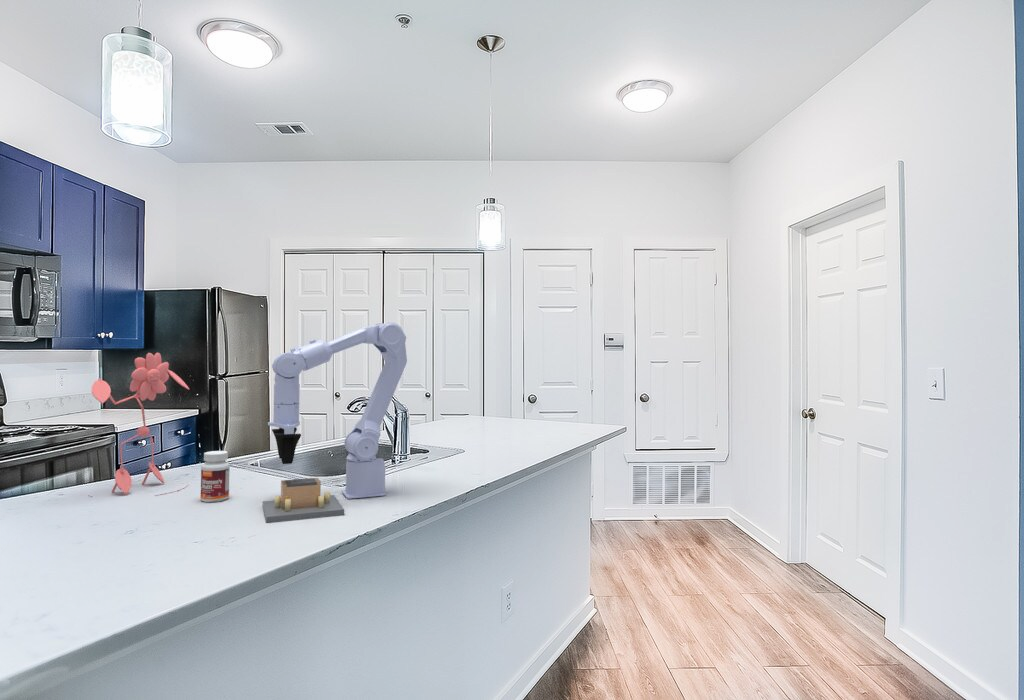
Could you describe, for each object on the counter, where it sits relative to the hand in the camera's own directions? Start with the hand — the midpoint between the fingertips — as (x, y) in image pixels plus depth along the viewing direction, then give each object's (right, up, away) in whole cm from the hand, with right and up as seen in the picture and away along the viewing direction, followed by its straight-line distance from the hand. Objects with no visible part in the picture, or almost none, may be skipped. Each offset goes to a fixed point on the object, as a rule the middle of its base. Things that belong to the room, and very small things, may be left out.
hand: (285, 460), depth 142 cm
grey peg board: (+6, -10, -7) cm, 14 cm away
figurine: (-38, -10, +10) cm, 40 cm away
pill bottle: (-18, -10, +2) cm, 20 cm away
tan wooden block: (+6, -9, -7) cm, 13 cm away
